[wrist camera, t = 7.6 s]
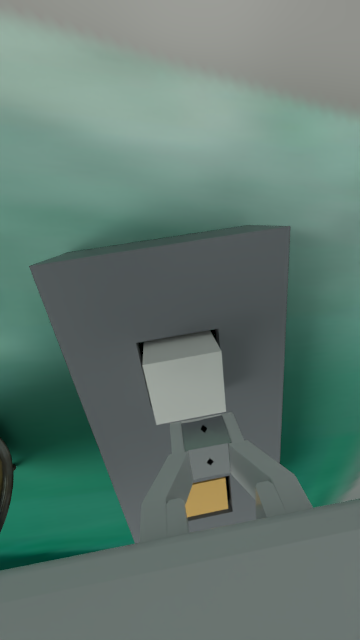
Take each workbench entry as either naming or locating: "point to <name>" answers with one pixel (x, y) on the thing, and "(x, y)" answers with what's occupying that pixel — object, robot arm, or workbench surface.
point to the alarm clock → (5, 480)
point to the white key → (184, 376)
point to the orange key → (207, 497)
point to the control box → (167, 321)
